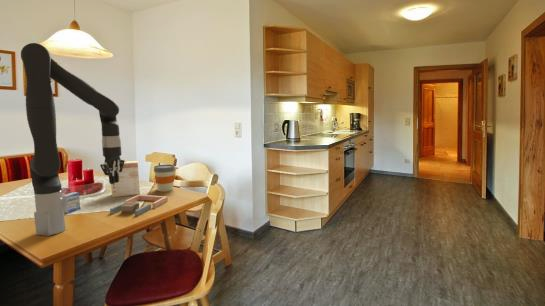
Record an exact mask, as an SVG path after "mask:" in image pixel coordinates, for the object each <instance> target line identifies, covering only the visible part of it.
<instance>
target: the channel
mask: <svg viewBox="0 0 545 306" xmlns="http://www.w3.org/2000/svg"><path fill="white" fill-rule="evenodd" d="M125 203H127V202H124V201H123V202H122V203H119V204H117V205H116V206H112V207H111V208H110V209H109V214H110V215H114V214H115V213H116V214H117V213H118V212H121V205H123V204H125ZM151 209H152V205H151V203H147V204H145V205H143V206H141V207H139V209H137V210H135V213H134V216H136V217H139V216H140V215H142V214H144V213H146V212H147V211H149V210H151Z"/></svg>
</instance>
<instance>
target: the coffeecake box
mask: <svg viewBox="0 0 545 306" xmlns="http://www.w3.org/2000/svg"><path fill="white" fill-rule="evenodd" d="M110 169H112V168H110ZM119 170H120V169H119ZM110 172H111V171H110ZM110 187H111V197H112V198H117V197H125V196H126V197H127V196H137V195H141V193H140V192H141V191H140V189H141V188H140V187H141V186H140V177H139V163H138V160H131V161H130V160H129V161H125V162H124V165H123V169H122V172H120V173H119V182H118V183H115V184H110Z"/></svg>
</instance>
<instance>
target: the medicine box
mask: <svg viewBox="0 0 545 306" xmlns="http://www.w3.org/2000/svg"><path fill="white" fill-rule="evenodd" d="M62 198H63V208H64V214H70V213H74V212H76V211H78V210H80V209H81V199H80V192H75V191H73V192H70V193H69V192H68V193H66V194H62Z"/></svg>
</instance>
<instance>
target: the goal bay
mask: <svg viewBox="0 0 545 306" xmlns="http://www.w3.org/2000/svg"><path fill="white" fill-rule="evenodd" d="M139 201H147V202H148V201H151V202H152V205H151V206H152V208H153V209H156V208H158V207H160V206H161V205H164V204H165V203H167V202H168V201H169V197H168V196H164V195H163V196H162V195H148V194H138V195H133V197H130V198H128V199H126V200H124V201H123V203H124V202H135V203H137V202H139Z"/></svg>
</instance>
